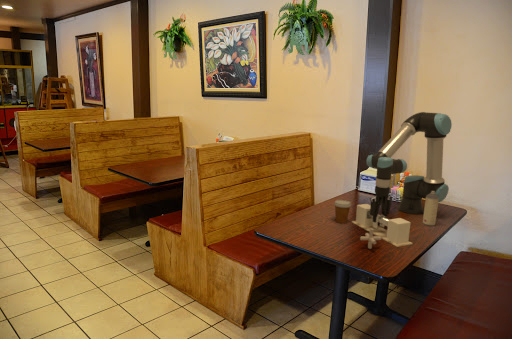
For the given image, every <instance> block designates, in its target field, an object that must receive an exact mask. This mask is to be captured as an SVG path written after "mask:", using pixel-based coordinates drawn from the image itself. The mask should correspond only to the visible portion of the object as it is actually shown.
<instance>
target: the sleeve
mask: <svg viewBox="0 0 512 339" xmlns="http://www.w3.org/2000/svg"><path fill="white" fill-rule="evenodd" d="M370 207H371V204H368V203H364V204H363V203H362V204H357V205H356V215H355V221H356V222H357V223H359V224H360V225H362V226H364V227H366V226H373V219H371V218H369V217H367V212H368V211H370Z"/></svg>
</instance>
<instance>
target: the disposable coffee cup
mask: <svg viewBox="0 0 512 339" xmlns="http://www.w3.org/2000/svg"><path fill="white" fill-rule="evenodd" d="M351 206H352V204H351V201H348V200H345V199H336V200H335V201H334V207H335V210H334V211H335V222H336V223H339V224H347V223H348V222H347V221H348V218H349V212H350V209H351Z"/></svg>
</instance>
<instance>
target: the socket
mask: <svg viewBox="0 0 512 339" xmlns="http://www.w3.org/2000/svg"><path fill="white" fill-rule="evenodd" d="M389 219H390V218H389ZM411 224H412V222H410V221H408V220H406V219H404V218H401V217H397V218H392V219H390V220H388V227H387V228H386V230H387V238H386V239H388V240H389V241H391V242H393V243H395V244H399V243H405V242H408V241H409V237H410V230H411Z"/></svg>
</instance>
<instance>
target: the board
mask: <svg viewBox="0 0 512 339" xmlns="http://www.w3.org/2000/svg"><path fill="white" fill-rule="evenodd" d="M350 222H351V224H354V225H356V226H358V227H359V228H362V229H364V230H365V231H367V232H369V231H370V228H373V229H374V230H373V236H381V240H383V241H385V242H387V243H389V244H390V245H393V246H395V247H397V248H398V247H399V248H400V247H404V246H411V245H413V242H411V241H409V240H408V242H405V243H399V244H395V243H393V242H391V241H389V240H388V239H386V238H387V228H386V229H385V227H381V226H380V225H377V228H374V227H373V226H366V227H364V226H362V225H360V224H359V223H357V222H356V220H352V221H350Z"/></svg>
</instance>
